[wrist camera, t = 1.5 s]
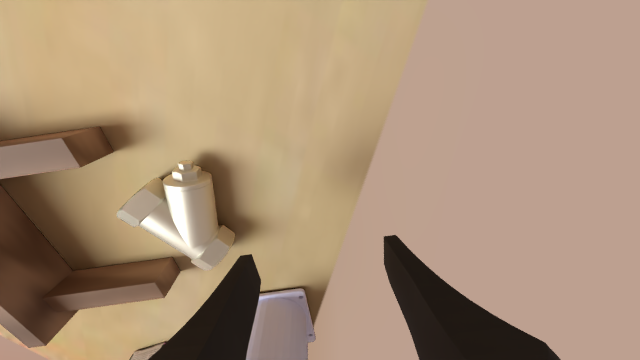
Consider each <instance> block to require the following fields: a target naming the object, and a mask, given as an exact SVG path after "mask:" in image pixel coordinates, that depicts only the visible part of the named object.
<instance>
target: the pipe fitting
mask: <svg viewBox="0 0 640 360" xmlns="http://www.w3.org/2000/svg"><path fill="white" fill-rule="evenodd" d="M178 166H179V167H176V168H175V169H174V170H173V171H172V174H171V175H168V176H167V177H165V178H164V179H163V181H162V180H161V179H159V178H156V179H153V180H151V181H150V182H149V183H147V184H146V185H145V186H144V187H142V188H141V189H140V190H139V191H138V192H137V193H136V194H134V195H133V196H132V197H131V198H130V199H129V200H128V201H127V202H126V203H125V204H124V205H123V206H122V207H121V208H120V209H119V211H118V212H117V217H118V218H120V219H121V220H123V221H124V222H126V223H128V224H129V225H131V226H133V227H136V226H140V227H141V228H143V229H145V230H146V231H148V232H149V233H151V234H153V235H154V236H156V237H157V238H159V239H161V240H162V241H164V242H166V243H167V244H169V245H170V246H172V247H174V248H175V249H177V250H178V251H180V252H181V253H183V254H185V255H186V256H188V257H189V258H191V263H193V264H194V265H196V266H198V267H199V268H201V269H202V270H210V269H212V268H214V267H215V266H216V265H217V264H218V263H219V262H220V261H221V260H222V259H223V258H224V257H225V255H226V254H227V252H228V251H229V250H230V248H231V246H232V244H233V242H234V239H235V233H234V232H232V231H231V230H230V229H228V228H227V227H226V226H224V225H221V226H218V220H217V213H216V205H215V197H214V189H213V182H212V175H211V174H210V173H209V172H206V171H201V167H199V166H196V165H193V162H192V161H181V162H179V163H178Z"/></svg>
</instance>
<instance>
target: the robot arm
mask: <svg viewBox="0 0 640 360" xmlns="http://www.w3.org/2000/svg"><path fill="white" fill-rule="evenodd" d="M384 265H385V269H386V272H387V275H388V279H389V282H390V284H391V287H392V289H393V291H394V294H395V296H396V299H397V301H398V303H399V305H400V308H401V310H402V313H403V315H404V318H405V320H406V322H407V325H408V327H409V330H410V332H411V335H412V338H413V341H414V344H415V347H416V350H417V354H418V357H419V360H560V359H559V357H558V356H557V355H556V354H555V353H554V352H553V351H552V350H551V349H550V348H549V347H548V346H547V344H546V343H544V342H543V341H541V340H539V339H537V338H535V337H533V336H531V335H529V334H527V333H525V332H523V331H521V330H520V329H518V328H515V327H514V326H512V325H510V324H508V323H507V322H505V321H503V320H501V319H499V318H498V317H496V316H494V315H493V314H491V313H489V312H488V311H486V310H485V309H483V308H482V307H480V306H478V305H477V304H475V303H473V302H472V301H470V300H469V299H468V298H466V297H465V296H464V295H462V294H461V293H459V292H458V291H457V290H455V289H454V288H453V287H451V286H450V285H449V284H447V283H446V282H445V281H444V280H442V279H441V278H440V277H439V276H438V275H436V274H435V273H434V272H433V271H432V270H431V269H429V268H428V267H427V266H426V265H425V264H424V263H423V262H422V261H421V260H420V259H418V258H417V257H416V256H415V255H414V254H413V253H412V252H411V251H410V250H409V249H408V248H407V246H406V245H405V244H404V243H403V242H402V241H401V240H400V239H399V238H398V237H397V236H396V235H392V236H385V237H384ZM260 285H261V279H260V276H259V274H258V271H257V268H256V265H255V263H254V260H253V257H252V254H250V255H243V256H240V257H239V258H238V260H237V261H236V262H235V264H234V265H233V267H232V268H231V269H230V271H229V272H228V273H227V275H226V276H225V277H224V279H223V280H222V281H221V283H220V284H219V285H218V287H217V288H216V289H215V291H214V292H213V293H212V294H211V296H210V297H209V298H208V299H207V300H206V302H205V303H204V304H203V305H202V306H201V308H200V309H199V310H198V311H197V312H196V313H195V314H194V316H193V317H192V318H191V319H190V320H189V321H188V322H187V323H186V324H185V325H184V326H183V327H182V328H181V329H180V330H179V331H178V332H177V333H176V334H175V335H174V336H173V337H172V338H171V339H170V340H169V341H168V342H167V343H166V344H164V345H163V346H162V347H161V348H160V349H159V350H158V351H157V352H156V353H155V354H153V355H152V356H151V357H150V358H149V359H148V360H308V342H314V341H315V339H316V338H315V332H314V328H313V324H312V320H311V316H310V311H309V307H308V303H307V299H306V295H305V291H304V289H301V288H299V289H291V290H284V291H277V292H269V293H262V294H260Z"/></svg>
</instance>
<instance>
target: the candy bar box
mask: <svg viewBox="0 0 640 360" xmlns="http://www.w3.org/2000/svg"><path fill="white" fill-rule="evenodd" d="M164 344H166V343H165V342H163V343H159V344H156V345H153V346H150V347H148V348H144V349H141V350H138V351H135V352H134V353H133V355H132V356H131V358H130V360H148V359H149V358H150V357H151V356H152V355H153V354H155V353H156V352H157V351H158V350H159V349H160V348H161V347H162V346H163V345H164Z"/></svg>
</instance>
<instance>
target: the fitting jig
mask: <svg viewBox="0 0 640 360" xmlns="http://www.w3.org/2000/svg"><path fill="white" fill-rule="evenodd" d="M111 153H113V150H112V148H111V146H110V144H109V143H108V141H107V139H106V137H105V135H104V134H103V132H102V130H101V128H100V127H93V128H86V129H80V130H73V131H66V132H59V133H52V134H45V135H39V136H32V137H25V138H18V139H11V140H5V141H0V179H4V178H11V177H18V176H25V175H32V174H38V173H45V172H52V171H59V170H66V169H73V168H80V167H82V166H85V165H87V164H89V163H91V162H93V161H95V160H98V159H100V158H102V157H104V156H106V155H108V154H111ZM179 273H180V270H179V268H178V266H177V265H176V263H175V261H174V259H173V257H170V258H163V259H155V260H148V261H141V262H134V263H127V264H119V265H112V266H105V267H98V268H91V269H84V270H76V271H73V270H72V269H71V268H70V267H69V266H68V265H67V263H66V262H65V261H64V260H63V259H62V257H61V256H60V255H59V254H58V253H57V252H56V250H55V249H54V248H53V247H52V246H51V244H50V243H49V242H48V241H47V240H46V238H45V237H44V236H43V235H42V234H41V233H40V231H39V230H38V229H37V228H36V227H35V225H34V224H33V223H32V222H31V221H30V219H29V218H28V217H27V216H26V215H25V214H24V212H23V211H22V210H21V209H20V208H19V206H18V205H17V204H16V203H15V202H14V201H13V199H12V198H11V197H10V196H9V195H8V193H7V192H6V191H5V190H4V189H3V187H2V186H1V185H0V324H1V325H2V326H3V327H4V328H5V329H7V330H8V331H9V332H10V333H12V334H13V335H14V336H15V337H16V338H18V339H19V340H20V341H21V342H22V343H24V344H25V345H26V346H27V347H28V348H31V347H39V346H46V345H47V344H48V343H49V342H50V340H51V339H52V338H53V337H54V336H55V335H56V334H57V333H58V332H59V331H60V330H61V329H62V327H63V326H64V325H65V324H66V323H67V322H68V321H69V320H70V319H71V318H72V317H73V316H74V314H75V313H76V312H77V311H78V310H80V309H87V308H94V307H101V306H109V305H116V304H123V303H131V302H138V301H145V300H153V299H160V298H165V296H166V295H167V293H168V291H169V290H170V288H171V286H172V285H173V283H174V281H175V280H176V278H177V276H178V275H179Z"/></svg>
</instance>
